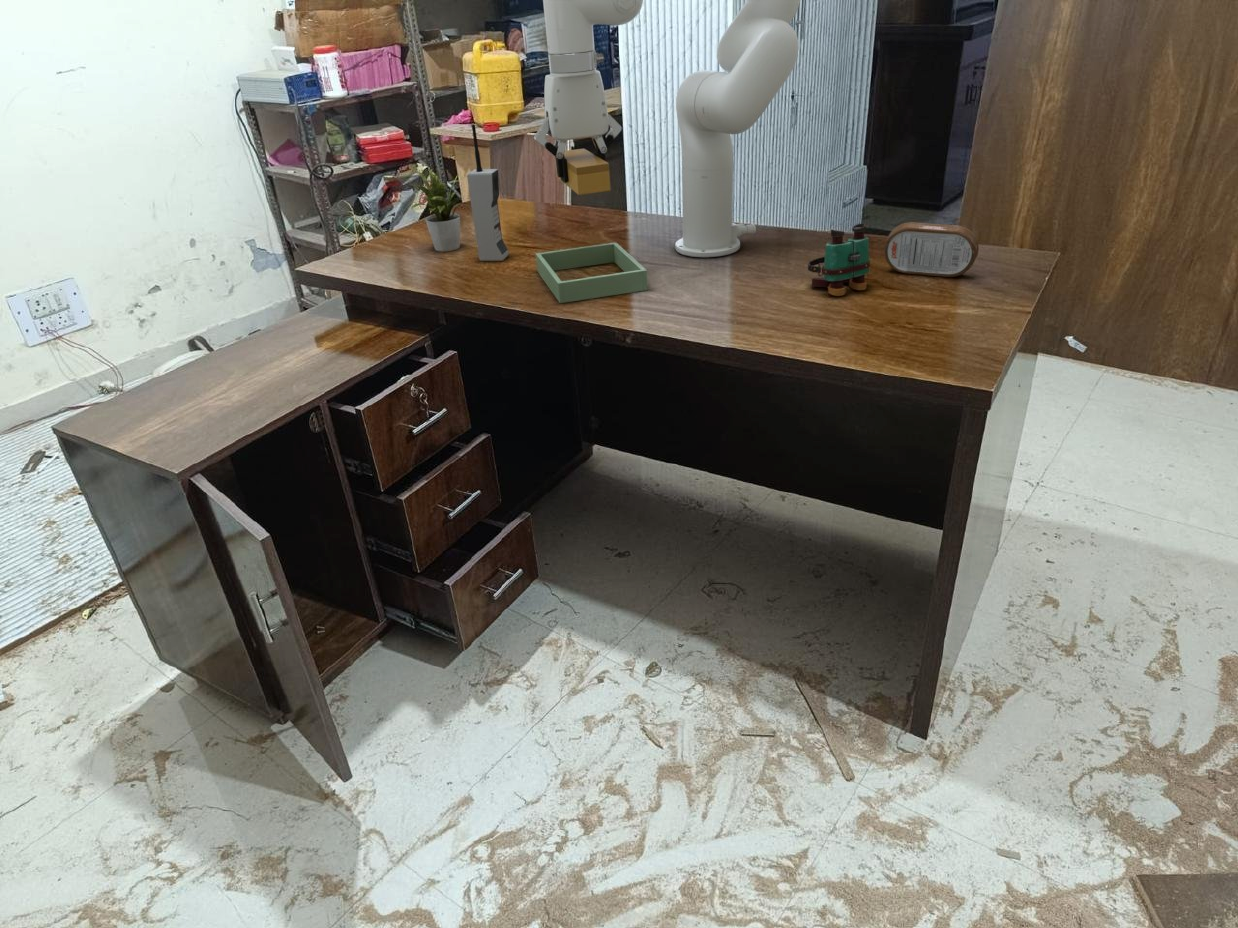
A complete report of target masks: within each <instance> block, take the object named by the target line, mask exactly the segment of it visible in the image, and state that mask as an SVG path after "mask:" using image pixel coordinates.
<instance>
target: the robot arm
mask: <svg viewBox="0 0 1238 928" xmlns="http://www.w3.org/2000/svg"><path fill="white" fill-rule="evenodd" d="M542 3H543V5H542V6H543V13H544V24H545V35H546V45H547V53H548V54H547V56H548V65H549V74H546V75H545V77H544V92H543V93H544V99H543V100H544V121H543V122H542V124H541V125H540V127H539V128H538V130H537V131H536V133H535V134H534V136H533V139H534V141H536V142H537V143H538V144H539V145H540V146H542V147H543V148H545V150H547V151H548V152H549V153H550V154H552V155H553V156H554V158H555V157H556V165H555V168H556V167H557V175H558V177H560V178H561V180H562V181H563V182H564V183H568V182H569V179H568V168H567V159H566V158H565V157H564V151H566V145H567V142H568V141H573V140H581V139H588V138H591V140H592V143H593V145H594V147H595V148H594V151H593V152H592V154H594V155H596V156H597V157H599V158H601V159H602V160H604V161H605V162H606V153H607V152H608V149H609V147H610V146H611V145H612V143H613V142H614V141H615V138H616V137H618V135H619V134H620V133H621V131H622V129H623V128H622V126H621V124H620V123H618V122H617V120H616V119H615V118H614V117H613V116H611V114H610V113H609V112H608V105H607V97H606V93H605V89H604V88H605V87H604V83H603V82H604V81H603V79H602V75H601V72H600V70H597V68H598V65H599V64H601V63H604V60H605V59H604V58H605V57H604V54H603V53H598V52H597V50H595V41H594V40H595V38H594V37H595V36H594V26H595V25H604V26H605V25H607V26H623V25H625V24H628V23H631V22H632V21H633V20H634V19H636V18H637V16H638V15H639V14H640V12H641V10H642V7H643V3H644V0H542ZM800 4H801V0H746V1H745V3H744V4H743V5H742V7H741V8H740V10H739V11H738V13H737V14H736V15H735V17H734V18H733V20H732V21H731V23H730V24H729V26H728V27H727V28H726V30H725V31H724V33H723V35H721V38H720V40H719V42H718V44H717V48H716V59H717V62H718V65H719V67H720V68H721V69H722V70H723V71H718V70H710V69H702V70H697V71H694V72H692V73H690V74H688V75H687V76H686V77H685V78H684V79H683V80H682V82H681V83H680V85H679V87H678V89H677V93H676V97H675V110H676V117H677V122H678V129H679V135H680V144H681V145H680V146H681V193H682V194H681V195H682V197H681V198H682V238H679V239H678V240H677V241H676V242H675V244H674V249H675V251H676V252H677V253H678V254H680V255H682V256H687V257H693V258H716V257H723V256H728V255H731V254H733V253H736V252H738V251H739V250H740V248H741V241H740V238H741V237H742V236H751V235H756V234H757V227H756V225H755V224H754V223H752V224H745V223H735V222H733V211H734V210H733V209H734V208H733V207H734V205H733V201H734V144H733V139H732V135H739V134H742V133H744V132H747V131H748V130H749V129H751V128H752V127H753V126H754V125H755V124H756V123H757V121H758V120H759V119H760V117H761V116H762V115H763V113H764V112H765V111H766V109H767V108H768V107H769V105H770V104H771V103H772V101H773V100H774V98H775V97H776V95H777V94H778V92H779V91H780V90H781V88H783V85H785V83H786V81H787V80H788V79H789V77H790V75H791V74H792V72H793V70H794V68H795V66H796V63H797V59H798V55H799V47H800V46H799V38H798V35H797V33H796V31H795V29H794V27H793V26H792V25H791V22H792V20H793V19H794V18H795V15H796V14H797V12H798V10H799V8H800ZM546 136H548V137H551V138H553V139H554V144H553V143H552V142H551V141H549V140H548V139H547V137H546ZM557 175H556V176H557ZM562 181H561V182H562ZM563 182H562V183H563ZM564 183H563V184H564Z"/></svg>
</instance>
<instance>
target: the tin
mask: <svg viewBox="0 0 1238 928" xmlns="http://www.w3.org/2000/svg"><path fill="white" fill-rule="evenodd" d="M979 247H980V246H979V241H978V239H977V237H976V235H975V234H974V233H973V232H972V231H971V230H970V229H968V228H966V227H964V226H961V225H954V224H953V225H952V224H939V223H926V222H925V223H924V222H916V221H915V222H914V221H913V222H912V221H909V222H905V223H901V224H899V225H897V226H896V227H894V228H893V229H892V230H891V231H890V232H889V234H888V236H887V238H886V241H885V243H884V249H883V253H884V258H885V261H886V262H887V264H888V266H889V267H891V269H893V270H894V271H897V272H899V273H902V274H906V275H907V274H908V275H909V274H910V275H919V276H928V277H929V276H931V277H941V278H955V277H959V276H961V275H964V274H965V273H967V272H968V271H969V270H970V269H971V268H972V266H973V265H974V263H975V261H976V260H977V257H978V255H979V249H980V248H979Z"/></svg>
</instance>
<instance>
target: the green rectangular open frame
mask: <svg viewBox="0 0 1238 928" xmlns="http://www.w3.org/2000/svg"><path fill="white" fill-rule="evenodd" d="M535 260H536V270H537V273H538V274H539V275H540V277H541V279H542V280H543V282H544V283H545V284H546V286H547V287H548V288H549V290H550V291H551V293H552V294H553V296H554V297H555V298H556V300H557V301H558V303H559V304H566V303H572V302H579V301H584V300H585V301H586V300H591V299H598V298H605V297H612V296H616V295H623V294H624V295H625V294H630V293H636V292H637V293H638V292H643V291H648V289H649V288H648V270H647V269H646V268H645V267H644V266H643V265H641V264H640V263H639V262H638V261H637V260H636V258H634V257H633V256H632V255H631V254H629V252H627V251H626V250H625V249H624V248H623V247H622V246H621V245H620V244H618V243H617V242H616V241H615V242H608V243H600V244H594V245H589V246H580V247H579V246H578V247H574V248H566V249H558V250H552V251H544V252H537V253H535ZM611 263H614V264H616V265H617V267H619V269H621V270H622V272H616V273H610V274H602V275H596V276H589V277H582V278H575V279H569V280H561V279H560V278H559V276H558V274H556V272H555V271H563V270H568V269H577V268H581V267H582V268H583V267H592V266H596V265H603V264H611Z"/></svg>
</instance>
